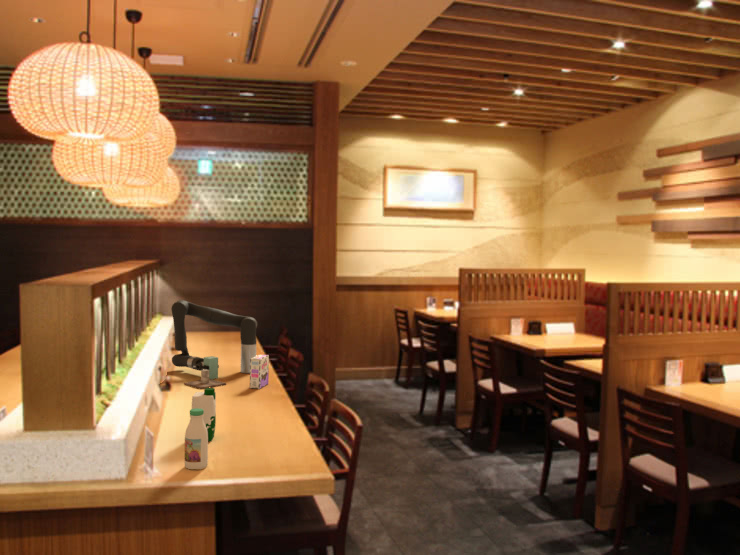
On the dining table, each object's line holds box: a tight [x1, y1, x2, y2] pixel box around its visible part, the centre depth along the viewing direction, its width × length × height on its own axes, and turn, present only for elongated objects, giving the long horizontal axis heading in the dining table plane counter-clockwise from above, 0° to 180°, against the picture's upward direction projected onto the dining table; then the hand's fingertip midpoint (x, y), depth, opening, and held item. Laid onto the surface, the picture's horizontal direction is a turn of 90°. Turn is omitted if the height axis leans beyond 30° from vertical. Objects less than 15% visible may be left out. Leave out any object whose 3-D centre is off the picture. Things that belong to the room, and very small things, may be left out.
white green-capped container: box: [191, 387, 217, 442], centre depth 249 cm, size 9×9×20 cm
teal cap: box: [203, 355, 219, 380], centre depth 363 cm, size 6×6×12 cm
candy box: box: [249, 354, 270, 390], centre depth 345 cm, size 14×6×16 cm, turn 168°
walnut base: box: [183, 369, 227, 390], centre depth 346 cm, size 16×16×8 cm
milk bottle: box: [184, 408, 209, 470], centre depth 218 cm, size 8×8×20 cm
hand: (213, 367), depth 361 cm, fingers closed on teal cap, 5 cm apart
